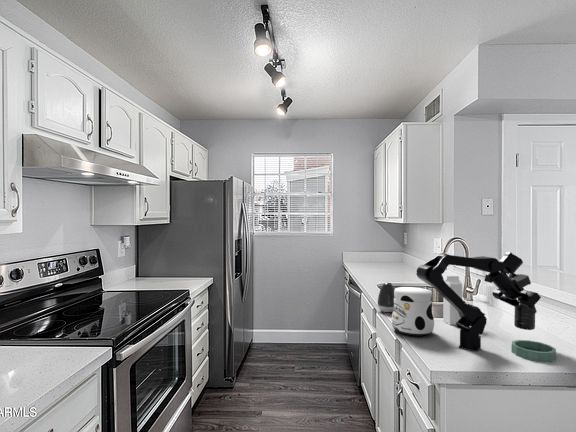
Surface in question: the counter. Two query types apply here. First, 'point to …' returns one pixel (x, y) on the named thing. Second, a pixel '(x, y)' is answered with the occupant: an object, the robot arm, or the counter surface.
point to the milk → (448, 310)
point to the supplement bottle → (523, 317)
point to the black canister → (386, 298)
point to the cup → (534, 350)
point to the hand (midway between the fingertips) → (528, 310)
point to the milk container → (413, 311)
